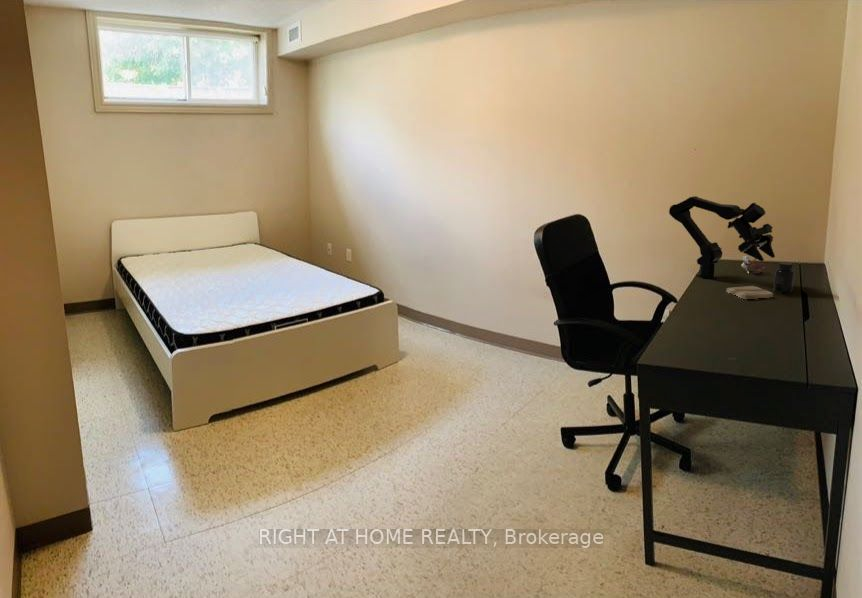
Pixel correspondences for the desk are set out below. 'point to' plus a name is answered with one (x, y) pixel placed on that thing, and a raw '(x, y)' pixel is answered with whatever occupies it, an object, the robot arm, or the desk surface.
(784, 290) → the supplement bottle
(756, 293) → the base slab
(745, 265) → the toy character
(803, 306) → the desk surface
